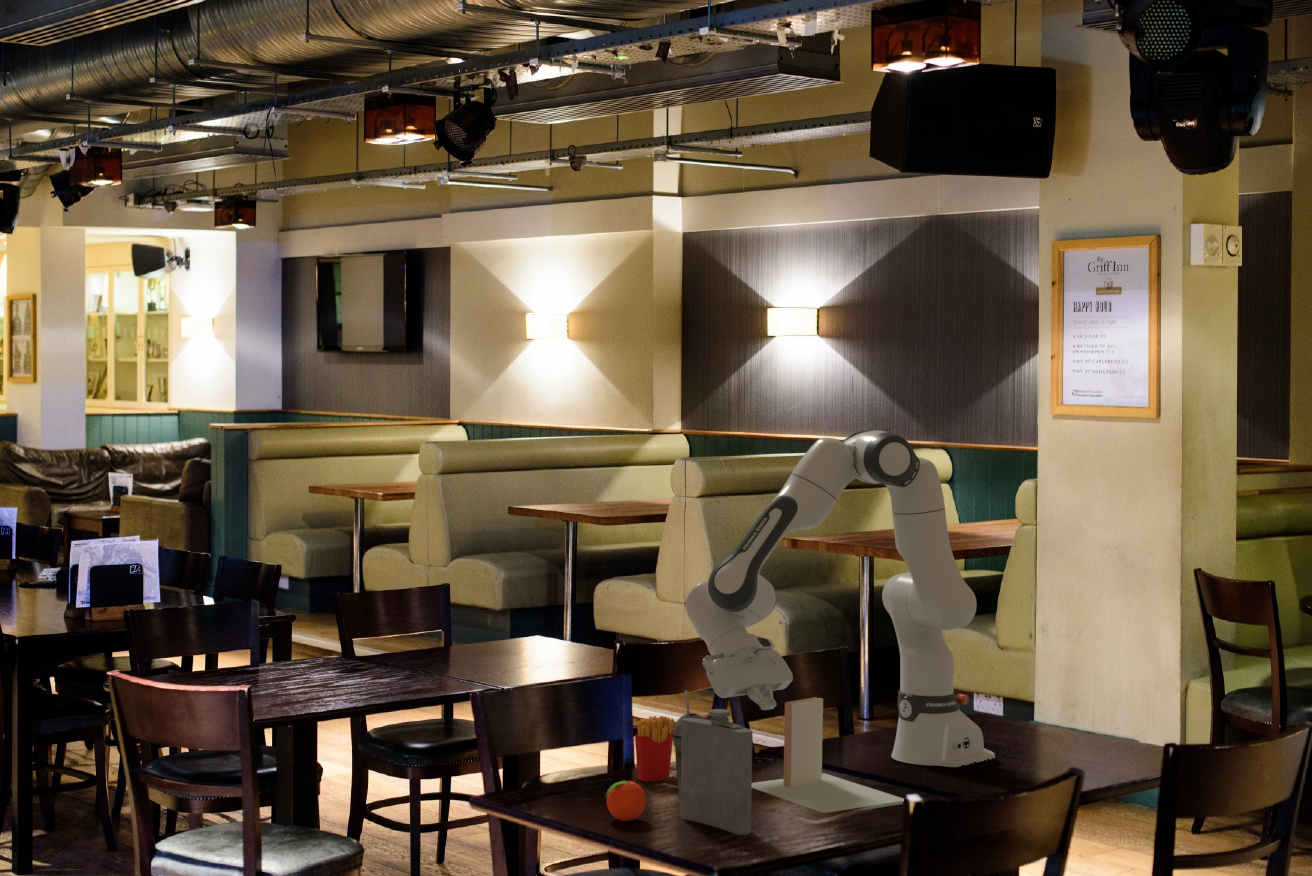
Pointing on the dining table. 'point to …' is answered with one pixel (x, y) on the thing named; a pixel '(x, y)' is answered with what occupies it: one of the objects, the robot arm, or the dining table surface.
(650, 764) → the french fries
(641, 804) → the clementine
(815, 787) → the mat
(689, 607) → the robot arm
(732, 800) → the hip flask
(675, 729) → the beverage cup
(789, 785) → the tile
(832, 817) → the dining table surface
